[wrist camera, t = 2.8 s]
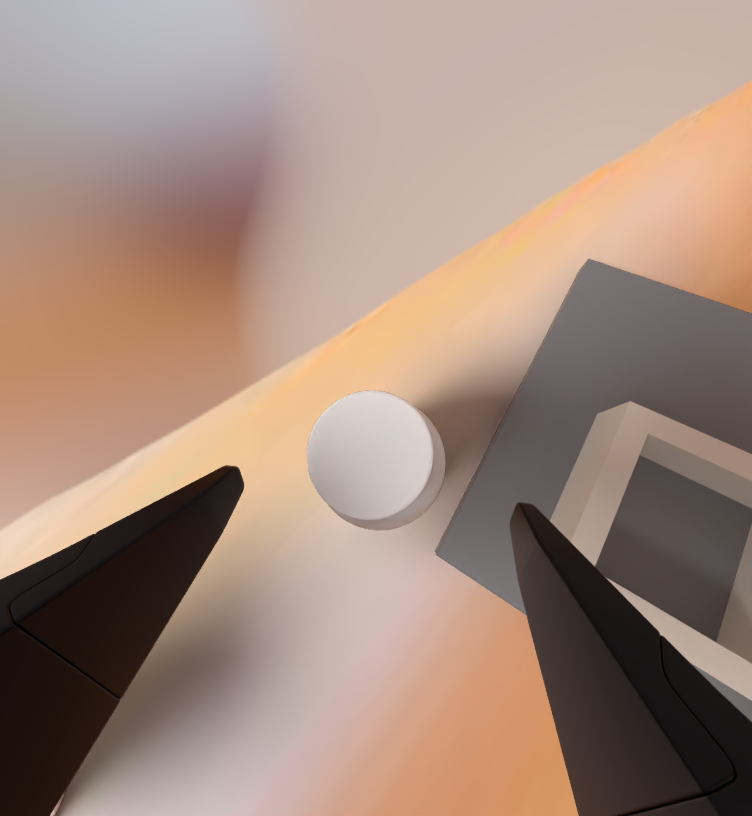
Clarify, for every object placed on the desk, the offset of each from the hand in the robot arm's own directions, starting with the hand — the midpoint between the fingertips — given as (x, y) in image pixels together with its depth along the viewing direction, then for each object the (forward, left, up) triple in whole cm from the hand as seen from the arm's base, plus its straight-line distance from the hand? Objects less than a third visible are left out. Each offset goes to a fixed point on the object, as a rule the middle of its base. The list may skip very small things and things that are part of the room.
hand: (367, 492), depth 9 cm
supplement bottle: (+1, 0, -9) cm, 9 cm away
